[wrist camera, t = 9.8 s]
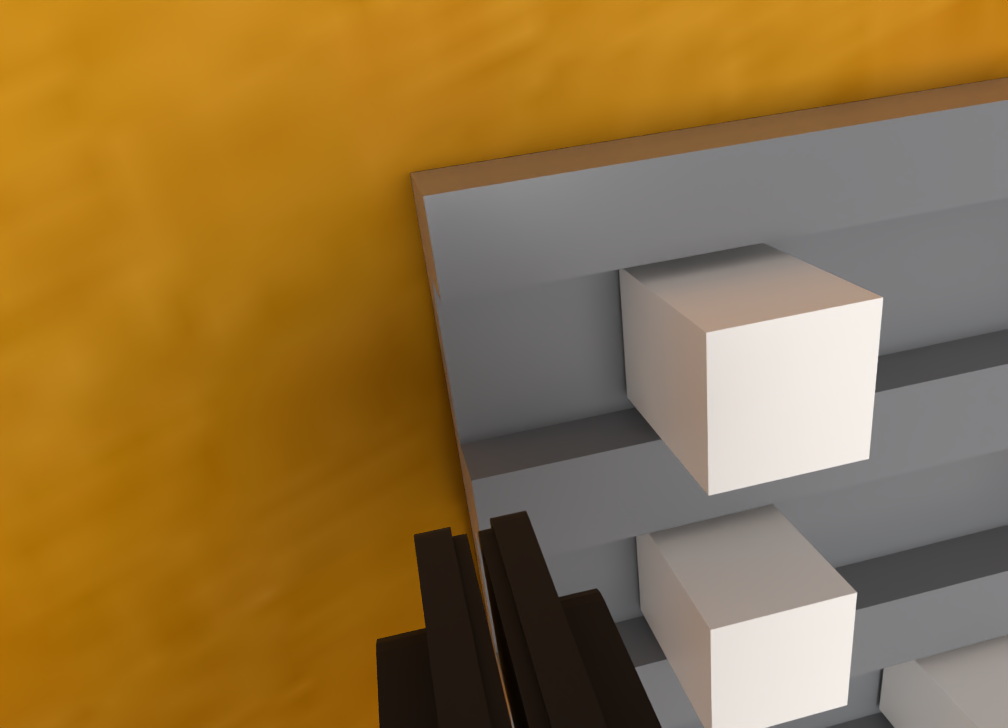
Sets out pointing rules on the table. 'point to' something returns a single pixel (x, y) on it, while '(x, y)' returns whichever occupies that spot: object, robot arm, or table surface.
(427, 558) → the robot arm
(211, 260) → the table surface
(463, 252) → the switch panel
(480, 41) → the table surface
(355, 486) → the table surface
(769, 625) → the switch tab middle
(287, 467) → the table surface
